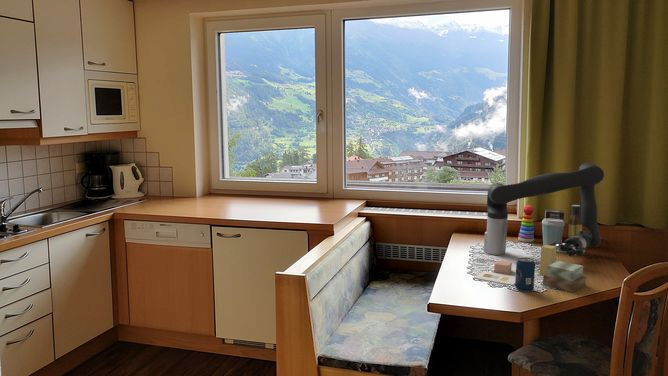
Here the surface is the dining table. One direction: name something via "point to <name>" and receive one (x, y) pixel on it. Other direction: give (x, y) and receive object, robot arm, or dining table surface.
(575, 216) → the sauce bottle
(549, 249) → the tall brick
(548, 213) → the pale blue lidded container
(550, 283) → the tower base
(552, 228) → the disposable coffee cup
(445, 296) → the dining table surface
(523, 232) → the stacking toy
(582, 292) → the dining table surface
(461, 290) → the dining table surface
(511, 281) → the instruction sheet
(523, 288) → the soda can
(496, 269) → the brick
